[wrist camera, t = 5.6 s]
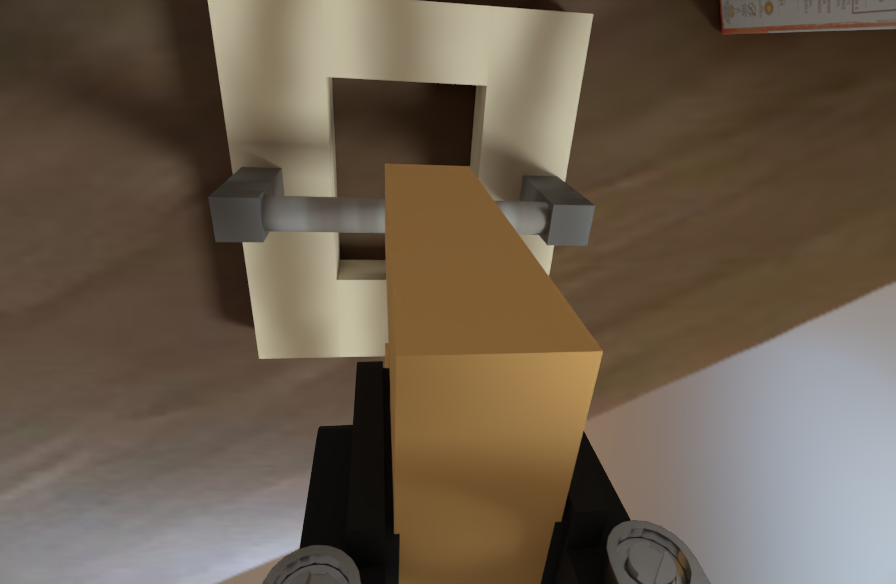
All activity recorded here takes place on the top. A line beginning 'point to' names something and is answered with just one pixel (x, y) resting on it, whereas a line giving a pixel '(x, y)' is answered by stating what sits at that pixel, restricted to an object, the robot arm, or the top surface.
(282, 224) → the square frame with handle
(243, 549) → the top surface
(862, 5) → the cracker box
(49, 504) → the top surface
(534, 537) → the tan wooden block
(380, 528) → the robot arm
